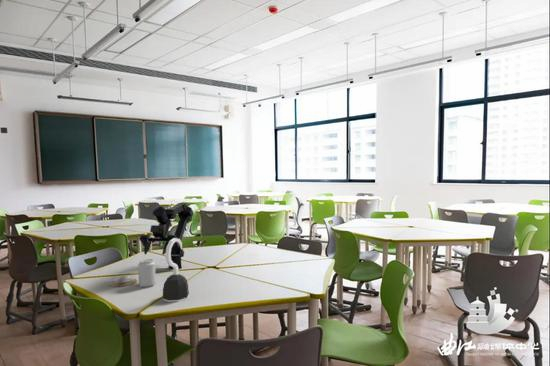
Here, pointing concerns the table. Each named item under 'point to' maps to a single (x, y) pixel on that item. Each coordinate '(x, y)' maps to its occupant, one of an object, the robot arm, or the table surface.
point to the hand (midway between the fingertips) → (153, 254)
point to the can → (146, 273)
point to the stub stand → (123, 281)
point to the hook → (174, 279)
